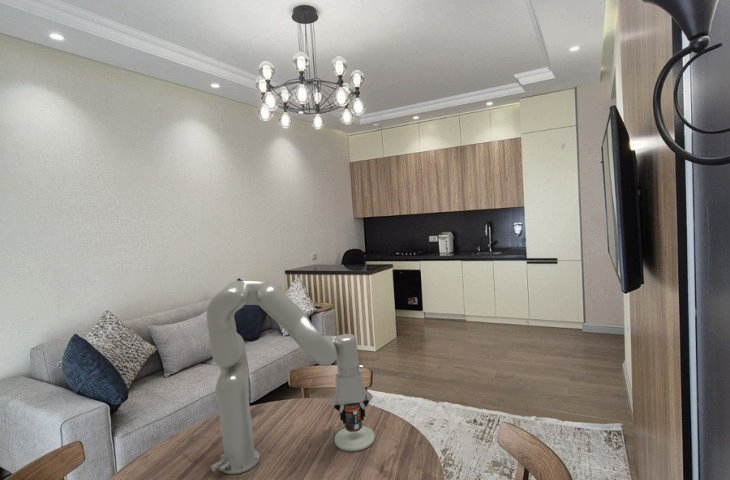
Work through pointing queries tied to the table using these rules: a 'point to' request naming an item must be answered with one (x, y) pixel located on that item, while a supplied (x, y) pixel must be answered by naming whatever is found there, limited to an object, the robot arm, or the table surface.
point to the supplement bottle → (352, 417)
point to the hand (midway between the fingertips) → (353, 419)
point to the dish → (354, 439)
